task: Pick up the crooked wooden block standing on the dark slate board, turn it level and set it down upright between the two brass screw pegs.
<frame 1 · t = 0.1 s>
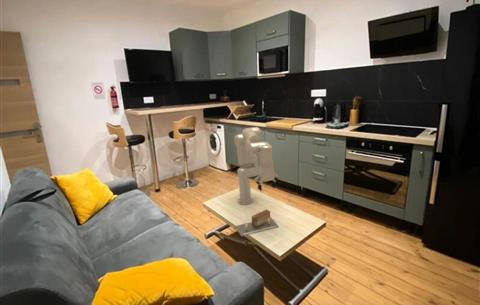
hand: (266, 188, 157), 31 cm above the table, fingers open, 9 cm apart
board: (257, 227, 168), on the table
wooden block: (261, 223, 170), point 1 cm above the table, touching board
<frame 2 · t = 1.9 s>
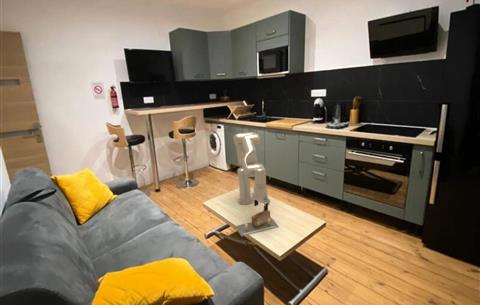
hand: (261, 207, 166), 14 cm above the table, fingers open, 9 cm apart
nothing on the table moved.
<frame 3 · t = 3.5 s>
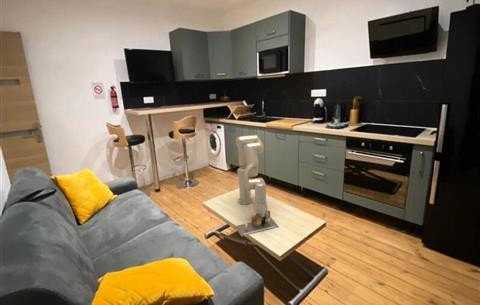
hand: (261, 222, 170), 2 cm above the table, fingers closed on wooden block, 4 cm apart
wooden block: (261, 223, 170), point 1 cm above the table, touching board, gripper
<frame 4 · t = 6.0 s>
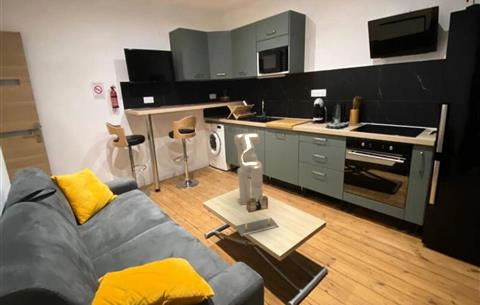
hand: (257, 207, 162), 17 cm above the table, fingers closed on wooden block, 4 cm apart
wooden block: (257, 209, 162), point 15 cm above the table, touching gripper
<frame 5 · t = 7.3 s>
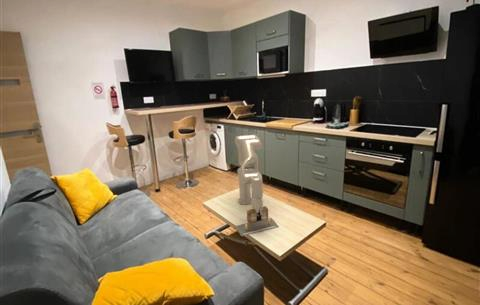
hand: (257, 218, 164), 8 cm above the table, fingers closed on wooden block, 4 cm apart
wooden block: (257, 219, 164), point 7 cm above the table, touching gripper
when the fingers open (4 cm above the table, at t = 8.5 s): wooden block drops 1 cm, resting on board.
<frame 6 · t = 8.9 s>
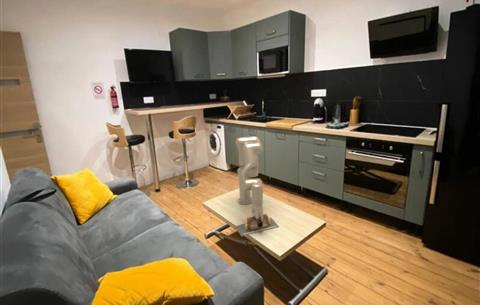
hand: (257, 223, 165), 4 cm above the table, fingers open, 7 cm apart
wooden block: (257, 227, 166), point 1 cm above the table, touching board
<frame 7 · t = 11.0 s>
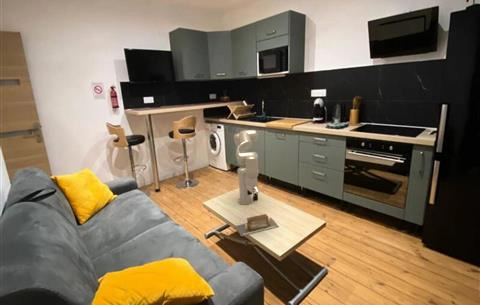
hand: (252, 197, 161), 24 cm above the table, fingers open, 9 cm apart
nothing on the table moved.
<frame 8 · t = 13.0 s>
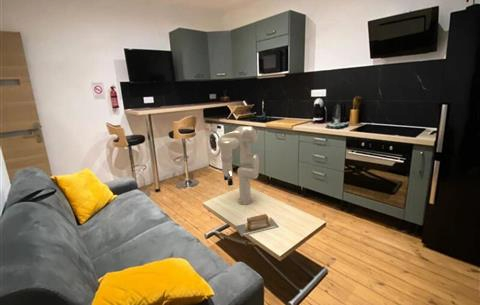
hand: (228, 182, 163), 33 cm above the table, fingers open, 9 cm apart
nothing on the table moved.
at the end: wooden block 0.2 cm from the target spot on the board, point 1.2 cm above the board's base; wooden block tilted 0°; the gripper is holding nothing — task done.
